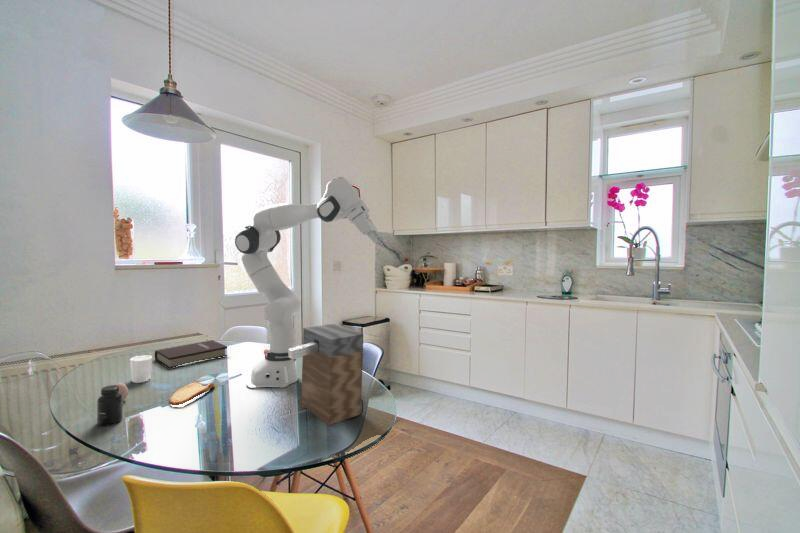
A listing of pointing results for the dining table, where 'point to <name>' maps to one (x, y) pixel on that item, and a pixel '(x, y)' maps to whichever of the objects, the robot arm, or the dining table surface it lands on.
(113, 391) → the supplement bottle
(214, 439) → the dining table surface
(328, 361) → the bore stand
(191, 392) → the slice of bread
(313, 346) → the steel bar
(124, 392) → the egg
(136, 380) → the white cup
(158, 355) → the book
